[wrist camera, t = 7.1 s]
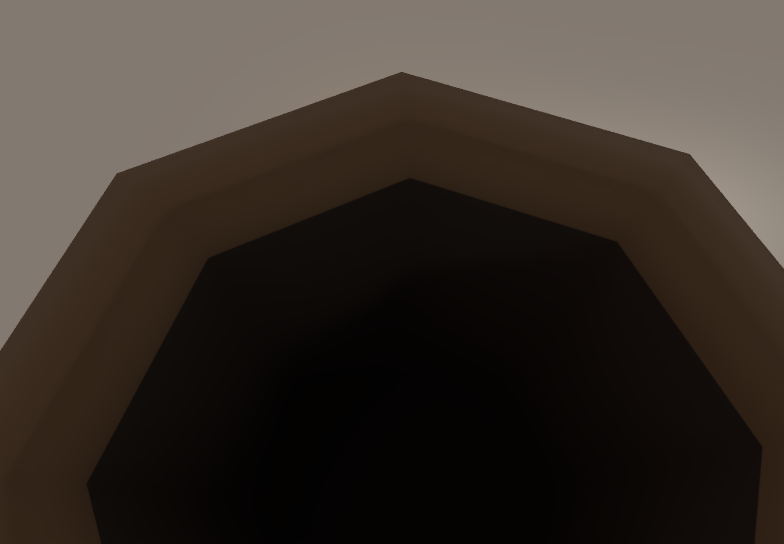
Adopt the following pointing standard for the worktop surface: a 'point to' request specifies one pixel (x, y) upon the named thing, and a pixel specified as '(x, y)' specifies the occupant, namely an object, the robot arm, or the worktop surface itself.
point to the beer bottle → (402, 342)
